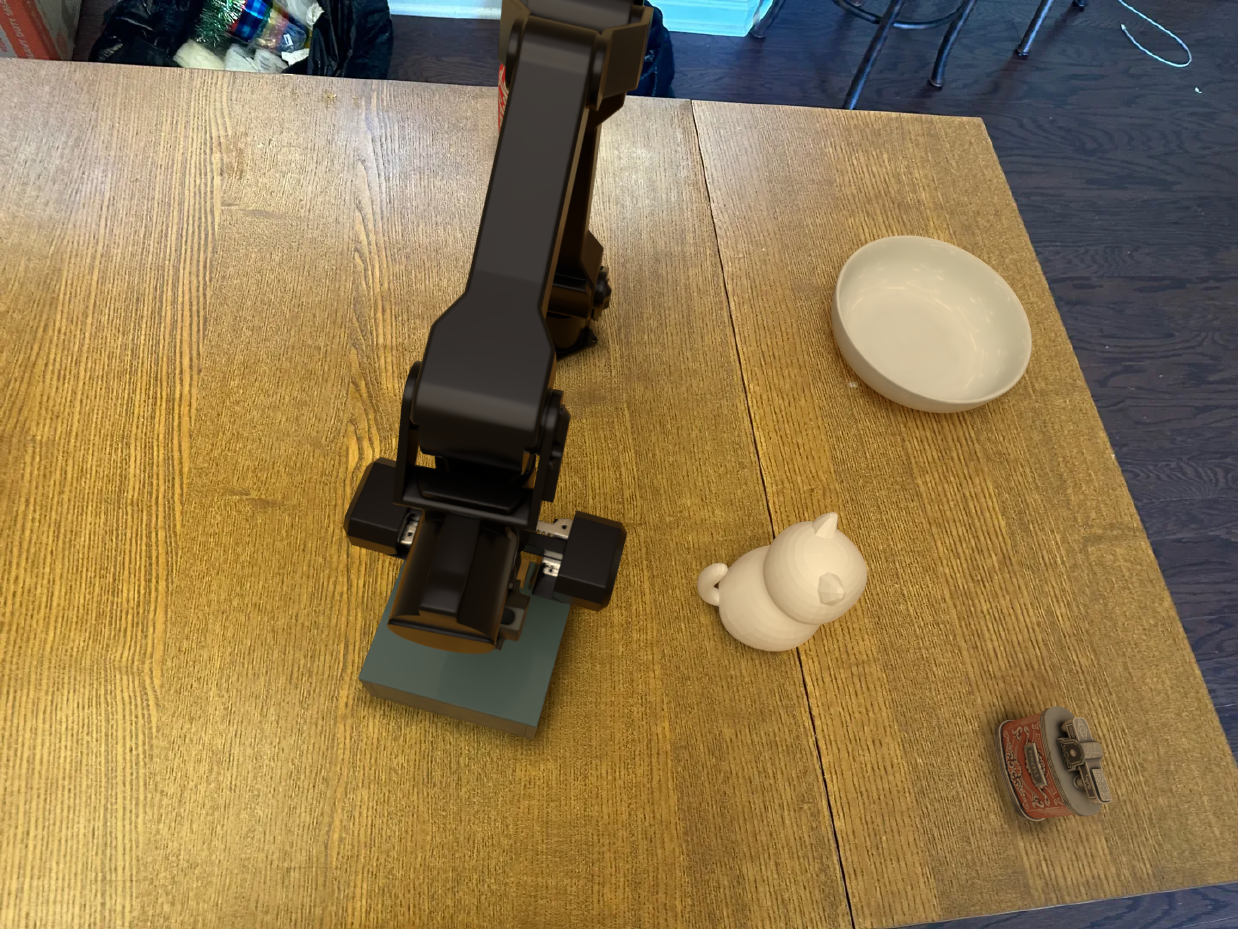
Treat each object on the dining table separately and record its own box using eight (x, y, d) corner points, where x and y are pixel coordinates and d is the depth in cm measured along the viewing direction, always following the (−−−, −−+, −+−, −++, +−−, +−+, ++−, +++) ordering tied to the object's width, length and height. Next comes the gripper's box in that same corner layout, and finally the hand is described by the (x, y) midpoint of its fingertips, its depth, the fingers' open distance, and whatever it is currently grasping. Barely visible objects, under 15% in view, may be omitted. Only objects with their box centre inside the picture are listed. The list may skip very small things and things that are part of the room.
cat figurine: (824, 662, 71) (899, 614, 58) (685, 654, 70) (728, 603, 57) (816, 566, 75) (883, 500, 62) (684, 556, 74) (724, 487, 61)
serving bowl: (878, 461, 81) (908, 428, 75) (778, 302, 89) (799, 260, 83) (1034, 402, 87) (1074, 366, 81) (929, 257, 95) (958, 215, 89)
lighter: (986, 722, 71) (1056, 701, 62) (1021, 720, 71) (1095, 698, 62) (1014, 823, 67) (1092, 815, 58) (1050, 820, 68) (1134, 812, 59)
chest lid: (416, 532, 65) (410, 509, 61) (578, 577, 66) (583, 557, 61) (359, 680, 60) (348, 666, 56) (536, 728, 60) (539, 717, 56)
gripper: (284, 569, 46) (334, 639, 60) (602, 655, 46) (578, 705, 60) (359, 407, 51) (388, 507, 65) (643, 485, 51) (613, 568, 65)
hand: (489, 572), depth 64 cm, fingers open, 7 cm apart
